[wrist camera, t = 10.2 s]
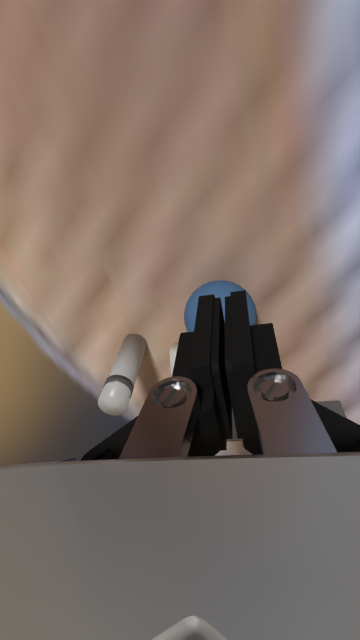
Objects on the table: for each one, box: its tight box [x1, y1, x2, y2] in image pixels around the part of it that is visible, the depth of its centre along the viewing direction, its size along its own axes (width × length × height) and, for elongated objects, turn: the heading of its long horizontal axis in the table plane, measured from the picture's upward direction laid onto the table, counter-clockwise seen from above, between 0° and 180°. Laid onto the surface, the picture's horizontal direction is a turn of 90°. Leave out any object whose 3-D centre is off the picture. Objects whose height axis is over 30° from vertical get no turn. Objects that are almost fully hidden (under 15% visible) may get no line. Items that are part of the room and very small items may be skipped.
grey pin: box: [98, 334, 147, 415], centre depth 31 cm, size 2×2×8 cm
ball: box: [184, 281, 256, 332], centre depth 29 cm, size 6×6×6 cm
